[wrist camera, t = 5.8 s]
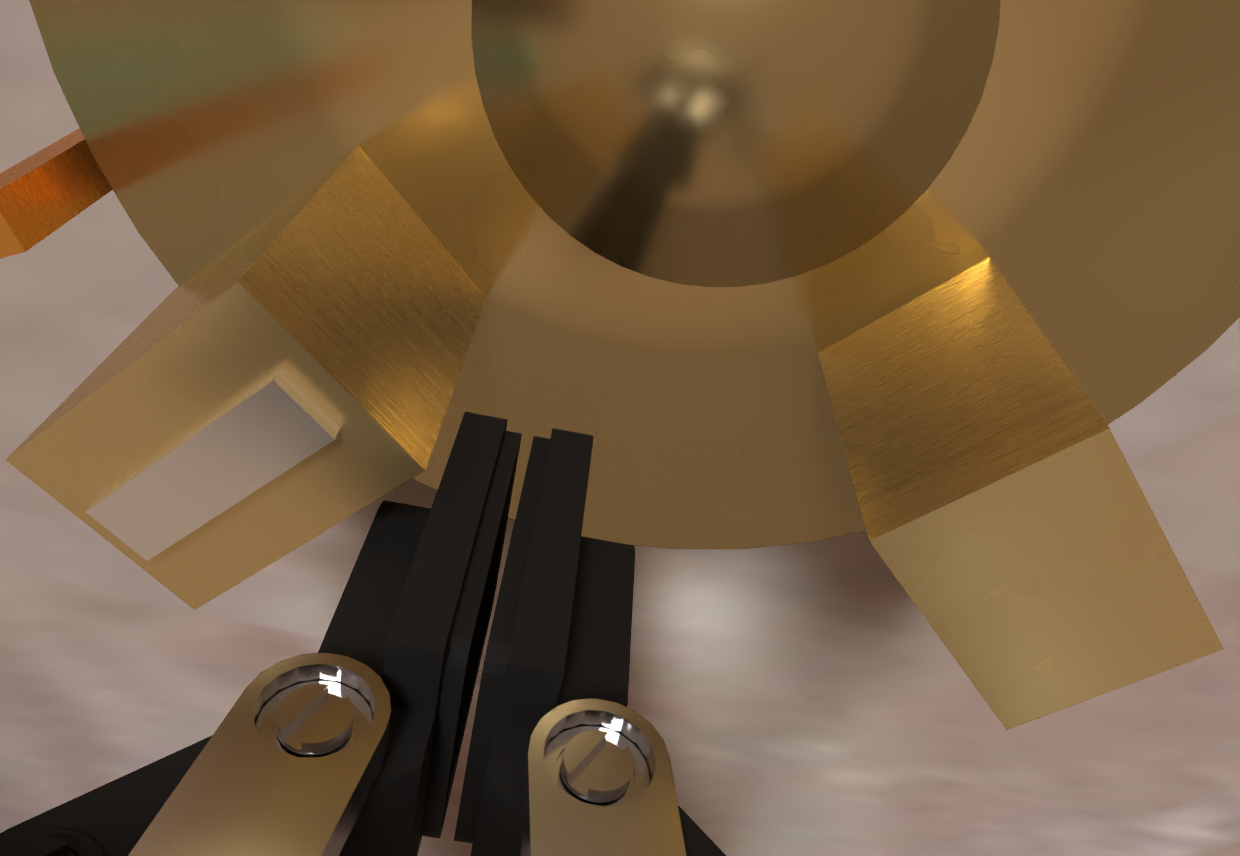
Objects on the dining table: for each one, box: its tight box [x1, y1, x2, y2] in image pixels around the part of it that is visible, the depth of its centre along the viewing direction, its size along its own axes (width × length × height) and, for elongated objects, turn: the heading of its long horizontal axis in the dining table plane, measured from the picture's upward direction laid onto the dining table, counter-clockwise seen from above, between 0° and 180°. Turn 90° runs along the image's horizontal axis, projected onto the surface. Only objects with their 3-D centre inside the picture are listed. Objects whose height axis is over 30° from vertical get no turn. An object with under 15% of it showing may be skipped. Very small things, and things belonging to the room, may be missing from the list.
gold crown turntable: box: [6, 0, 1240, 730], centre depth 10 cm, size 16×16×6 cm
